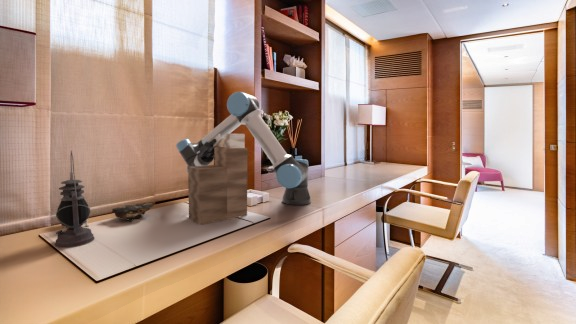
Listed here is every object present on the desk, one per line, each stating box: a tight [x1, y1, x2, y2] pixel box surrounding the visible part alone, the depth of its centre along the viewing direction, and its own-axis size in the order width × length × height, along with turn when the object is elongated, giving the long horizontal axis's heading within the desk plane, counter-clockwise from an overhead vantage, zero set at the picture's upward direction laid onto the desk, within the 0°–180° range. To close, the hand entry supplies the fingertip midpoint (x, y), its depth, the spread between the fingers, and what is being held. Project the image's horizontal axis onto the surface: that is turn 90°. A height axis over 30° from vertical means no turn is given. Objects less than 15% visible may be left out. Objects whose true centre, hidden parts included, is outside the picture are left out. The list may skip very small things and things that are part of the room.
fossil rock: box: [111, 202, 155, 221], centre depth 124 cm, size 14×14×6 cm
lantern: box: [54, 150, 95, 249], centre depth 97 cm, size 12×11×30 cm
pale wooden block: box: [211, 133, 246, 148], centre depth 133 cm, size 21×7×6 cm, turn 42°
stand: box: [187, 146, 249, 225], centre depth 128 cm, size 11×22×30 cm, turn 132°
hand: (224, 136), depth 134 cm, fingers closed on pale wooden block, 3 cm apart
